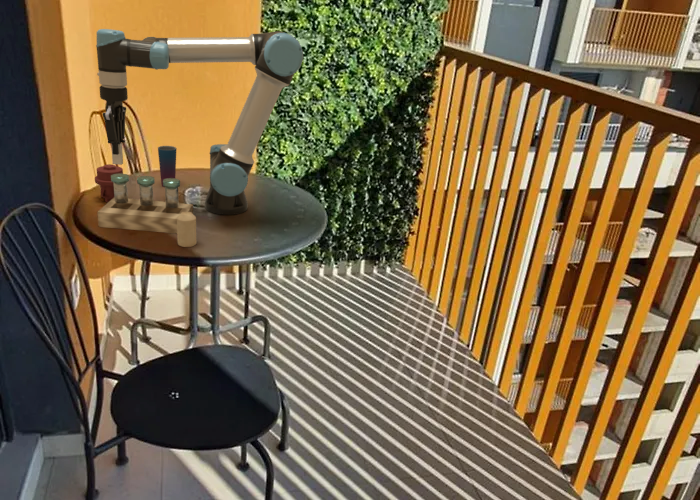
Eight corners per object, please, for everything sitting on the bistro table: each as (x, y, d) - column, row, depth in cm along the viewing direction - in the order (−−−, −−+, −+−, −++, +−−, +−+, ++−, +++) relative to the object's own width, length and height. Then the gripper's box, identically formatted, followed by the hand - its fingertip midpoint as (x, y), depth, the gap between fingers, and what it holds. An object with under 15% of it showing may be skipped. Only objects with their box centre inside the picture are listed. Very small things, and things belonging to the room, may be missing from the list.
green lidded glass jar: (157, 201, 176) (156, 176, 173) (152, 207, 172) (151, 181, 168) (141, 200, 176) (140, 175, 173) (136, 205, 171) (134, 179, 168)
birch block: (193, 218, 184) (192, 204, 182) (182, 233, 171) (182, 219, 169) (115, 211, 182) (114, 197, 180) (98, 226, 169) (97, 211, 167)
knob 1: (132, 199, 176) (131, 174, 172) (127, 204, 171) (125, 179, 168) (116, 198, 175) (114, 172, 172) (110, 203, 171) (108, 177, 167)
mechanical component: (132, 197, 195) (116, 206, 186) (107, 193, 197) (90, 201, 188) (130, 164, 190) (114, 171, 181) (105, 160, 192) (87, 167, 183)
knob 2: (182, 203, 177) (181, 179, 174) (178, 209, 172) (177, 183, 169) (166, 202, 177) (165, 177, 173) (161, 207, 172) (160, 182, 168)
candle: (186, 248, 161) (185, 217, 157) (173, 243, 164) (172, 212, 160) (200, 243, 166) (199, 213, 162) (187, 238, 168) (186, 208, 164)
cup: (174, 189, 209) (173, 151, 203) (156, 187, 209) (155, 149, 202) (179, 183, 215) (178, 146, 209) (162, 182, 215) (161, 144, 209)
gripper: (108, 81, 164) (113, 157, 174) (91, 87, 152) (97, 168, 162) (133, 84, 165) (137, 159, 174) (118, 90, 153) (122, 170, 162)
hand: (117, 163), depth 168 cm, fingers closed
